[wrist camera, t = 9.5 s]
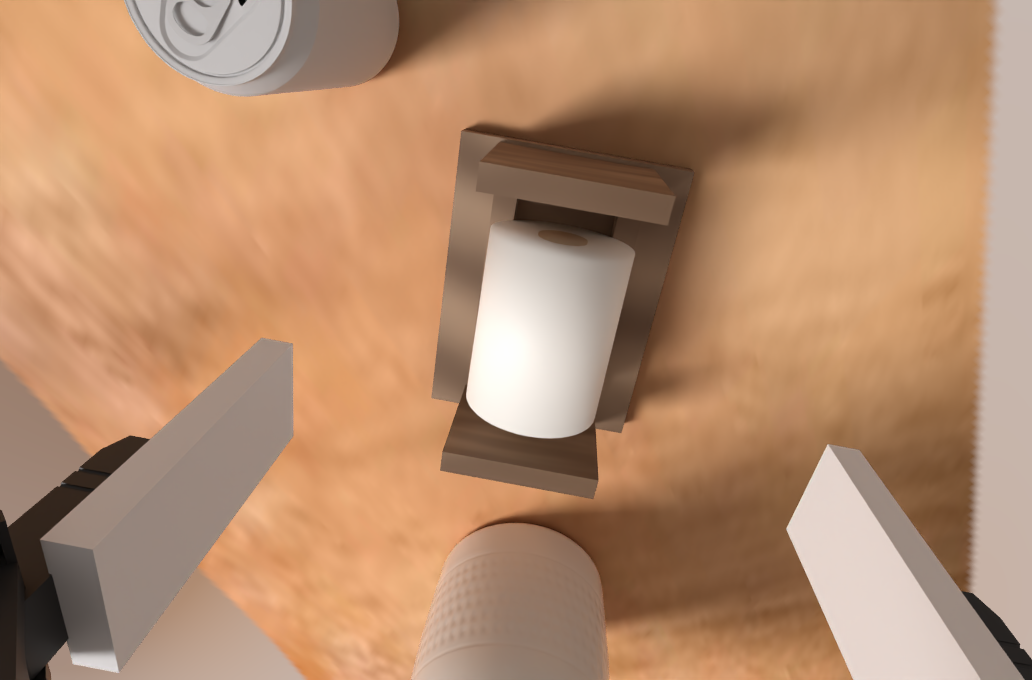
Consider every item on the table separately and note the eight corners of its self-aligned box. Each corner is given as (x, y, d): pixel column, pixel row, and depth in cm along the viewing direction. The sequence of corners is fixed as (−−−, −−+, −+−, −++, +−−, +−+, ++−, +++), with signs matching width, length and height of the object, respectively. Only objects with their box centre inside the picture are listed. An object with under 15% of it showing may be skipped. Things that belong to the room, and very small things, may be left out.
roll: (500, 211, 32) (480, 239, 25) (629, 234, 31) (642, 269, 25) (476, 364, 35) (454, 424, 29) (593, 386, 35) (596, 451, 29)
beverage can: (428, 3, 29) (340, -36, 18) (361, 114, 31) (246, 138, 20) (316, -93, 28) (149, -197, 17) (255, 30, 30) (74, 10, 19)
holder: (464, 129, 31) (431, 147, 24) (691, 169, 31) (726, 200, 24) (435, 390, 38) (401, 466, 31) (620, 424, 38) (630, 509, 30)
